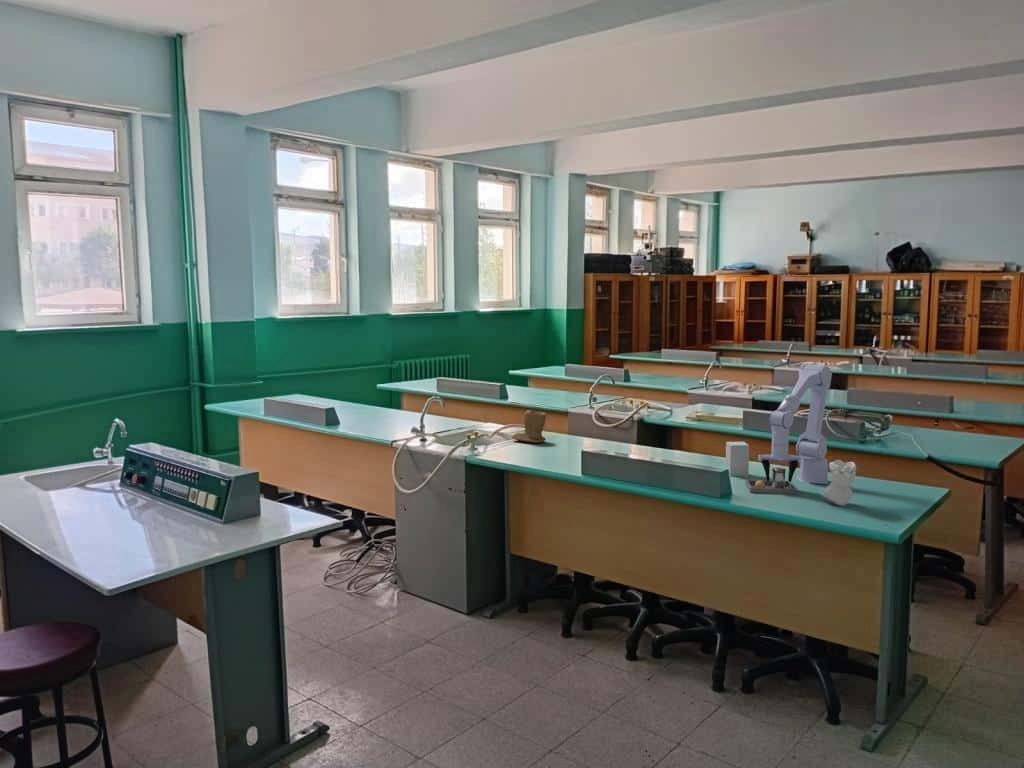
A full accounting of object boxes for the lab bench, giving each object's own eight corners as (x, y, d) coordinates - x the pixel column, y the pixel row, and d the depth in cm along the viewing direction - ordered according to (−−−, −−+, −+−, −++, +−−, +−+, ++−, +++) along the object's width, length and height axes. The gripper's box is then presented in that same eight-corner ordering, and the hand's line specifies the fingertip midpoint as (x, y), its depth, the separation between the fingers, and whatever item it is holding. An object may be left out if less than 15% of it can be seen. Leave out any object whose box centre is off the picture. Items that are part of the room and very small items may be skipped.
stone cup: (551, 441, 377) (551, 410, 375) (536, 445, 367) (536, 413, 365) (525, 437, 386) (525, 407, 384) (511, 441, 376) (510, 410, 374)
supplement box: (748, 477, 305) (749, 445, 303) (729, 477, 305) (730, 445, 303) (743, 472, 312) (744, 441, 311) (724, 472, 312) (725, 441, 311)
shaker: (783, 486, 289) (783, 467, 288) (786, 489, 284) (787, 470, 283) (770, 486, 289) (770, 467, 288) (773, 489, 285) (774, 470, 284)
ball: (764, 488, 286) (764, 479, 285) (765, 491, 282) (766, 482, 282) (754, 488, 286) (754, 479, 286) (755, 491, 283) (755, 481, 282)
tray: (790, 486, 290) (790, 480, 290) (796, 495, 279) (797, 489, 278) (745, 485, 293) (745, 479, 293) (750, 494, 281) (750, 488, 281)
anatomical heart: (847, 500, 272) (849, 457, 270) (862, 509, 261) (864, 465, 259) (819, 500, 272) (821, 458, 270) (833, 510, 260) (835, 466, 259)
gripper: (761, 445, 281) (759, 482, 283) (803, 446, 279) (802, 484, 281) (757, 441, 288) (756, 478, 290) (799, 442, 286) (797, 479, 288)
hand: (778, 480), depth 286 cm, fingers open, 7 cm apart
